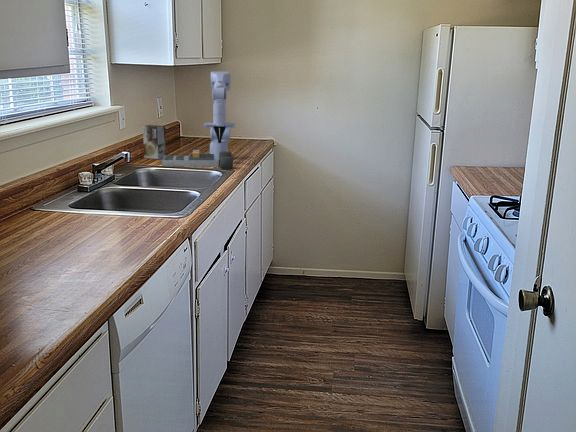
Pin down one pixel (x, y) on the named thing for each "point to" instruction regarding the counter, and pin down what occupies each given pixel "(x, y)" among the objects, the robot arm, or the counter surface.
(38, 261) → the counter surface
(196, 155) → the toggle
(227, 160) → the pair of grey cylinders
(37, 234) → the counter surface
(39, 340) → the counter surface
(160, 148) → the coffee box
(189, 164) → the power strip
